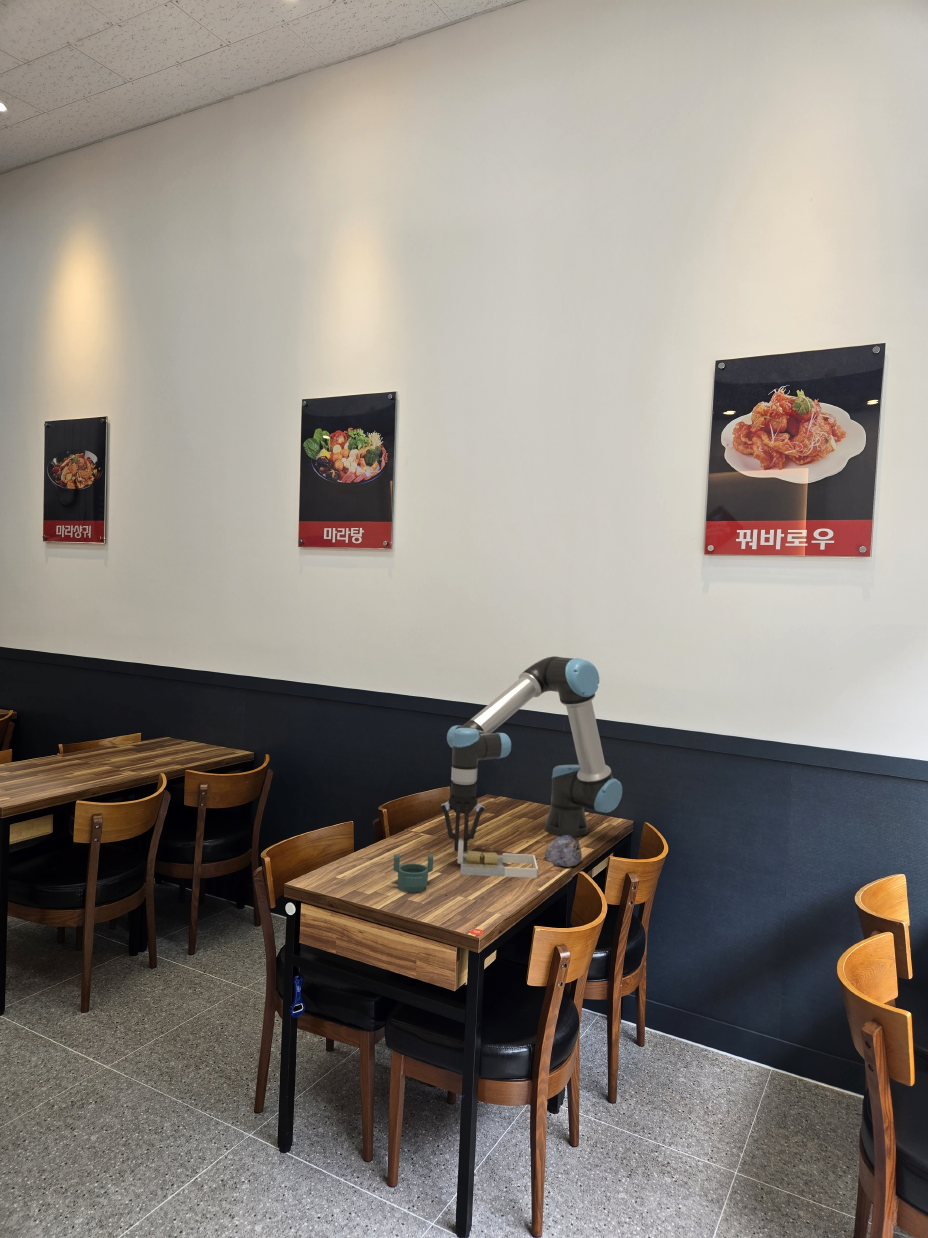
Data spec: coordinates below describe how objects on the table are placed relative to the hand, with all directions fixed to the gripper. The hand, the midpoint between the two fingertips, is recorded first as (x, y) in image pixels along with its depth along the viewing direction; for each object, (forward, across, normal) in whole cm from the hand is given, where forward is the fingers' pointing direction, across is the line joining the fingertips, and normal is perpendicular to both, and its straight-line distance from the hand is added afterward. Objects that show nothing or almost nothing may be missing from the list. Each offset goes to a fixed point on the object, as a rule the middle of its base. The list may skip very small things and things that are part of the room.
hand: (460, 862), depth 228 cm
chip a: (+1, -9, 0) cm, 9 cm away
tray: (+2, -18, 0) cm, 18 cm away
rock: (+3, -31, -11) cm, 33 cm away
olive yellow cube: (+1, -4, 0) cm, 4 cm away
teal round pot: (+3, +13, +16) cm, 21 cm away
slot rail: (+2, -6, 0) cm, 7 cm away
